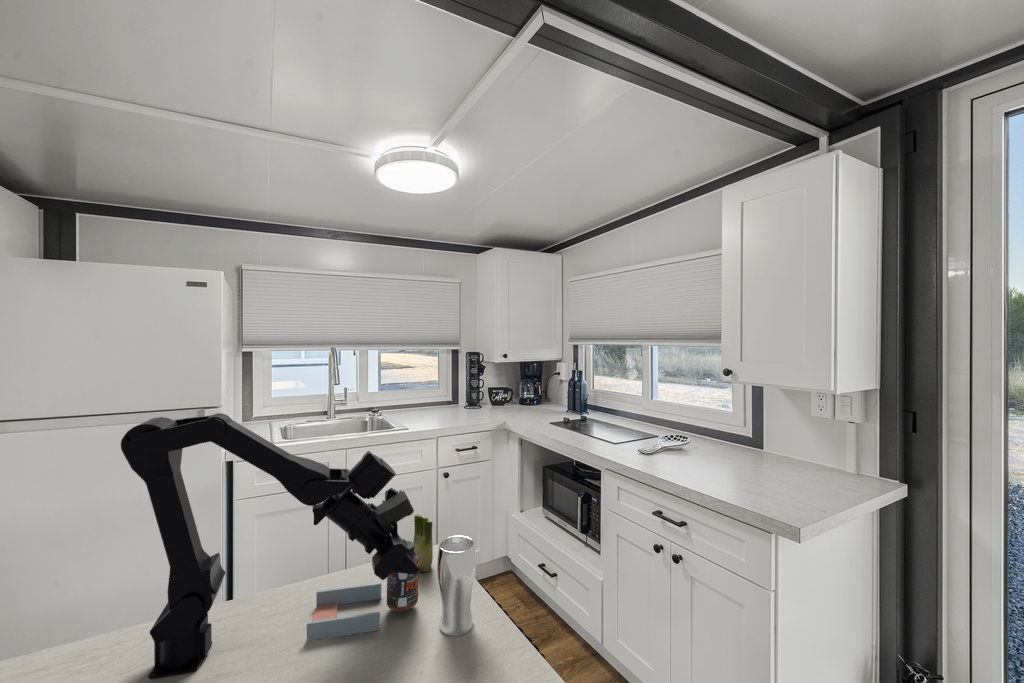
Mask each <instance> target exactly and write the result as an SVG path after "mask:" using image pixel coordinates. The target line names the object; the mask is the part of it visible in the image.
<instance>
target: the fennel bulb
mask: <svg viewBox="0 0 1024 683" xmlns="http://www.w3.org/2000/svg"><path fill="white" fill-rule="evenodd" d="M413 517H414V520H413V521H414V536H413V541H412V542H413V543H414V552H415V553H416V554H417V555H418V557H419V569H420V571H419V573H423V572H424V573H425V572H428V571H430V570H431V567H432V564H433V557H434V556H433V553H434V552H433V551H434V550H433V548H434V546H433V521H432V519H431V520H430V519H429V517H428V516H427V517H425V516H424V517H423V515H421V514H415V515H414V516H413Z"/></svg>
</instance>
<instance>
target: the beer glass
mask: <svg viewBox="0 0 1024 683" xmlns="http://www.w3.org/2000/svg"><path fill="white" fill-rule="evenodd" d="M437 554H438V555H437V567H436V568H437V581H438V583H437V584H438V588H439V589H438V590H439V594H440V601H441V615H440V619H439V620H440V621H439V630H440V631H441V633H442V634H444V635H447V636H449V637H458V636H462V635H465V634H467V633H468V632H469V631H470V630H472V628H473V624H474V621H473V615H472V596H473V591H474V585H475V582H476V580H475V578H476V572H477V569H476V566H477V563H476V562H477V557H476V542H475V540H474V539H473V538H471V537H469V536H466V535H451V536H448V537H445V538H443V539H442V540H441V541H440V542H439V543H438V553H437Z"/></svg>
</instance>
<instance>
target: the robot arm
mask: <svg viewBox="0 0 1024 683" xmlns="http://www.w3.org/2000/svg"><path fill="white" fill-rule="evenodd" d="M209 442H210V443H212V444H215V445H216V446H218V447H220V448H222V449H224V450H225V451H227V452H229V453H231V454H232V455H234V456H236V457H237V458H239V459H241V460H243V461H245V462H246V463H249V464H250V465H252V466H254V467H256V468H257V469H259V470H261V471H263V472H264V473H266V474H268V475H270V476H271V477H274V478H275V479H276V480H277V481H278V482H279V483H280V484H281V485H282V486H283V488H284V489H285V490H286V491H287V492H288V493H289V494H291V496H293V497H294V499H296V500H297V501H298V502H299V503H301V504H303V505H306V506H307V507H308V506H309V507H312V514H313V522H312V523H313V525H314V526H317V525H319V524H320V523H321V522H322V521H323V519H325V518H327V519H328V520H329V521H331V522H333V524H335V525H336V526H338V527H339V528H340V529H341V530H343V532H345V533H347V536H348V539H349V540H350V541H351V542H354V541H355V540H356V541H357V542H358V543H359V544H360V545H362V546H363V547H364V550H365V552H366V553H367V554H368V555H370V554H372V552H373V551H374V550H376V553H374V555H373V556H372V557H371V565H372V569H373V573H374V575H375V576H376V577H378V578H379V579H380V580H381V581H385V580H387V577H388V575H389V574H390V573H405V574H415V575H416V574H417V573H418V572H419V571H420V569H419V567H418V566H417V565H416V564H415V562H414V561H413V560H412V559H411V558H410V556H409V555H408V554H407V553H408V550H409V549H408V547H407V544H406V541H407V540H406V539H405V538H402V537H401V536H400V535H399V533H398V522H400V521H401V520H403V519H404V518H406V517H409V516H411V515H412V514H413V513H414V512H415V510H414V507H413V505H412V504H411V501H410V499H409V497H408V495H407V494H406V492H405V491H402V490H401V489H400V490H399V491H398V490H396V489H394V488H393V487H390V488H388V489H387V490H385V492H384V499H383V500H382V501H381V503H380V504H379V505H377V506H376V505H375V504H374V503H373V502H371V503H370V502H368V503H367V502H366V501H365V499H367V500H370V499H374V498H376V497H377V495H378V494H379V493H380V492H381V491H382V490H383V489H384V488H385V487H386V486H387V485H388V484H389V482H390V481H391V480H392V479H393V478H394V477H396V475H397V473H396V472H395V470H394V469H393V468H392V467H391V465H390V464H389V463H387V462H386V461H385V460H384V459H383V458H381V457H379V456H378V455H376V454H374V453H373V452H371V451H370V450H367V451H366V452H365V453H364V454H363V456H362V457H361V458H360V460H359V461H358V462H357V463H356V464H355V465H354V466H353V467H352V468H351V469H348V468H334V467H333V468H329V467H328V466H327V465H326V464H323V463H321V462H318V461H315V460H313V459H310V458H307V457H302V456H297V455H294V454H292V453H289V452H288V451H286V450H284V449H283V448H281V447H279V446H277V445H275V443H272V442H270V441H269V440H267V439H265V438H264V437H262V436H260V435H258V434H257V433H255V432H253V431H252V430H250V429H248V428H246V427H245V426H243V425H242V424H240V423H238V422H237V421H235V420H233V419H232V418H231V417H230V416H229V415H227V414H225V413H222V412H221V413H219V412H218V413H214V414H213V413H212V414H211V415H203V416H196V417H195V416H193V417H186V418H180V419H175V420H173V419H171V418H169V417H163V416H158V417H153V418H151V419H148V420H146V421H144V422H141V423H140V424H137V425H135V426H133V427H132V428H130V429H129V430H128V431H126V433H125V434H124V436H123V437H122V438H121V440H120V450H121V452H122V454H123V456H124V457H125V460H126V461H127V463H128V465H129V466H130V469H131V470H132V471H133V472H134V473H135V474H136V475H137V476H138V477H139V478H140V479H141V480H142V481H143V482H144V483H145V485H146V488H147V492H148V495H149V500H150V503H151V506H152V510H153V513H154V515H155V520H156V524H157V527H158V531H159V534H160V537H161V540H162V543H163V548H164V551H165V554H166V558H167V562H168V565H169V575H168V583H167V603H166V605H165V606H164V607H163V609H162V611H161V612H160V614H159V616H158V617H157V619H156V620H155V622H154V624H153V626H152V627H151V628H150V630H149V635H150V636H151V638H152V640H153V642H154V645H153V646H154V654H153V655H154V660H153V661H154V666H153V668H152V669H151V671H149V674H148V679H155V678H161V677H167V676H173V675H180V674H187V673H192V672H195V671H197V670H198V669H199V667H200V666H201V664H202V662H203V661H204V659H205V658H206V657H207V655H208V654H209V651H211V649H212V645H213V641H212V623H211V622H209V611H210V610H211V608H212V606H213V604H214V602H215V600H216V598H217V596H218V593H219V592H220V588H221V587H222V584H223V580H224V578H225V575H226V574H227V572H226V571H225V570H224V569H223V566H222V564H221V554H220V553H219V552H217V553H215V554H212V555H209V554H208V553H207V552H206V551H205V550H204V549H203V545H202V543H201V539H200V538H201V537H200V536H199V532H198V528H197V525H196V520H195V517H194V513H193V511H192V506H191V502H190V500H189V496H188V493H187V492H188V491H187V488H186V485H185V482H184V479H183V478H184V477H183V475H182V474H183V473H182V470H181V466H182V457H183V450H184V449H185V448H189V447H192V446H193V447H194V446H196V445H201V444H205V443H209ZM352 490H353V491H352ZM419 573H420V572H419Z"/></svg>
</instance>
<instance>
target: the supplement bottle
mask: <svg viewBox="0 0 1024 683" xmlns="http://www.w3.org/2000/svg"><path fill="white" fill-rule="evenodd" d="M405 541H406V544H407V547H408V549H409V550H408V553H407V554H408V555H409V556H410V558H411V559H412V560H413V561H414V562H415V564H416V565H417V566H418V567H419V557H418V555H417V554H416V553H415V552H414V543H413V541H410V540H405ZM419 574H420V572H418V573H417V574H416V575H415V574H405V573H390V574H389V575H388V577H387V578H386V607H388V609H390V610H391V611H396V612H405V611H408V610H410V609H412V608H413V607H415V606H416V605H417V603H418V600H419V577H420V576H419Z"/></svg>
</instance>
